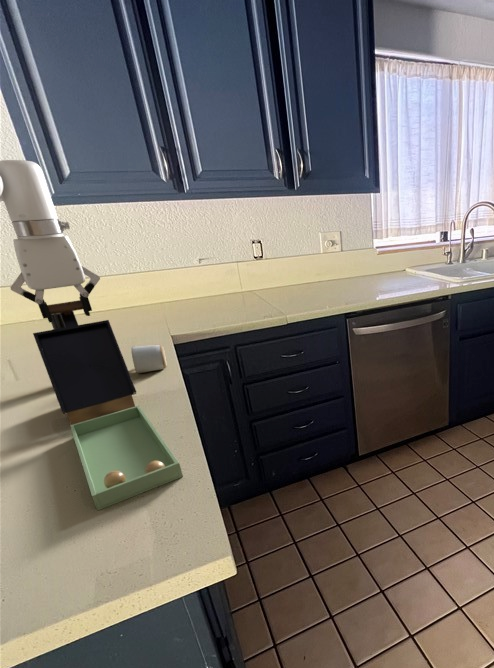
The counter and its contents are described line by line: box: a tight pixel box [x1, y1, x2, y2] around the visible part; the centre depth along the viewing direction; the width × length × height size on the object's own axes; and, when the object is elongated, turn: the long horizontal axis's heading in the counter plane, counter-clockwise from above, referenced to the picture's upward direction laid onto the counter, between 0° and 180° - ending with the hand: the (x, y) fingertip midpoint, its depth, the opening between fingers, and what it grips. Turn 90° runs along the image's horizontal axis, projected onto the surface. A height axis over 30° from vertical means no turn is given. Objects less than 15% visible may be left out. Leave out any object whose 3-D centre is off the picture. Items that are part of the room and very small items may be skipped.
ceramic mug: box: [131, 344, 168, 374], centre depth 125 cm, size 11×8×8 cm
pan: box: [32, 299, 137, 415], centre depth 93 cm, size 14×23×5 cm
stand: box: [66, 395, 136, 425], centre depth 103 cm, size 13×14×4 cm
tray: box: [69, 405, 184, 511], centre depth 82 cm, size 13×31×3 cm, turn 40°
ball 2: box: [145, 461, 165, 474], centre depth 74 cm, size 3×3×3 cm
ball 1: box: [104, 471, 126, 488], centre depth 72 cm, size 3×3×3 cm
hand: (69, 317), depth 92 cm, fingers closed on pan, 6 cm apart
